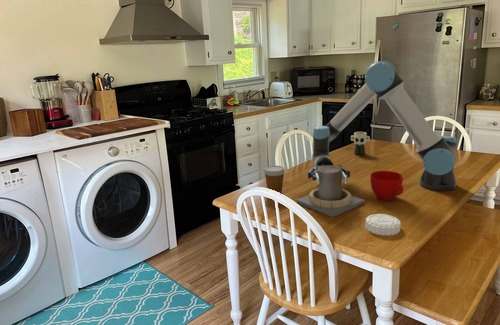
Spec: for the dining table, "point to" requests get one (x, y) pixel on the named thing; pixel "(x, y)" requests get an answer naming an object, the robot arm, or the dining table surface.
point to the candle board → (330, 210)
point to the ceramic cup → (386, 184)
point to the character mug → (360, 141)
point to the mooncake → (382, 224)
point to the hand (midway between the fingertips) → (332, 180)
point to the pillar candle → (329, 183)
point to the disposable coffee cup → (274, 177)
